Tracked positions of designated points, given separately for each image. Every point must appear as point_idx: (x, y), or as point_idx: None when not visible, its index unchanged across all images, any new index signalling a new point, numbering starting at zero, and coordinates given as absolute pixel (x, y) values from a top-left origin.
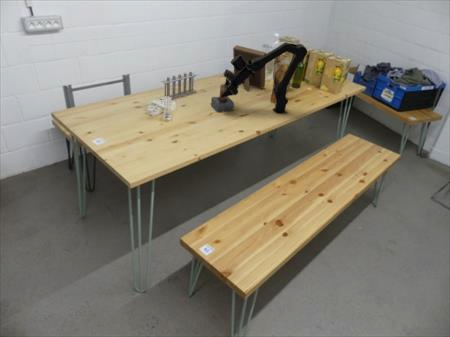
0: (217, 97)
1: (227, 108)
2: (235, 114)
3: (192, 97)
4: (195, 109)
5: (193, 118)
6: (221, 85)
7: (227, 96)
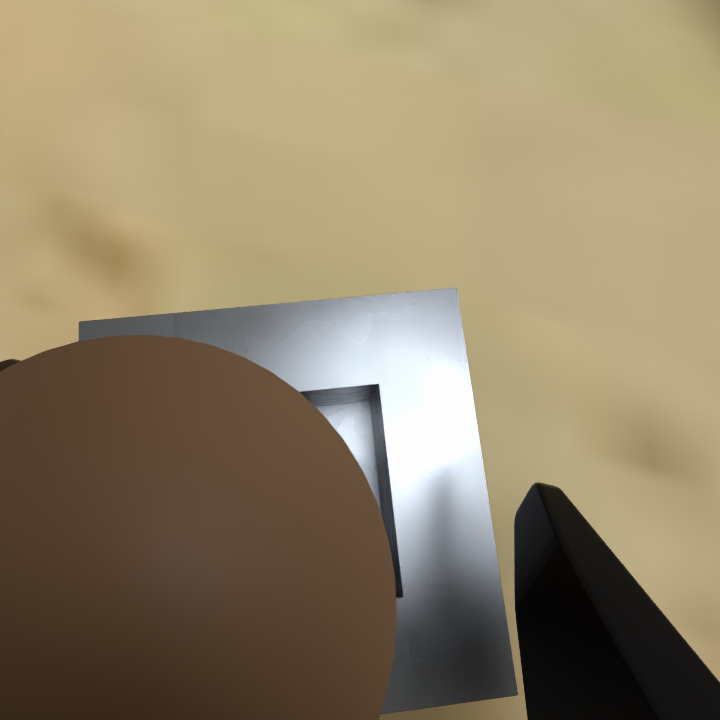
0: (435, 410)
1: None
2: None
3: (716, 136)
4: (292, 85)
5: (16, 3)
6: (210, 415)
7: (492, 688)
